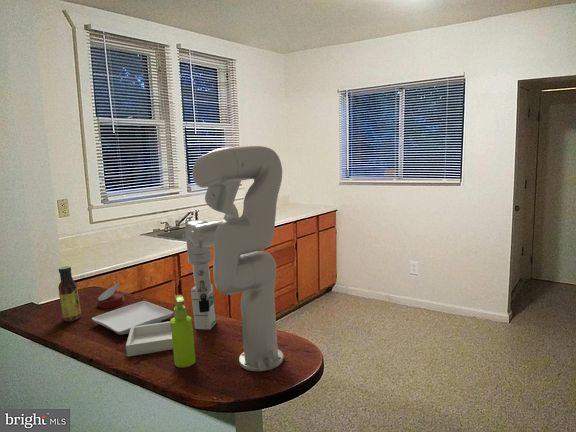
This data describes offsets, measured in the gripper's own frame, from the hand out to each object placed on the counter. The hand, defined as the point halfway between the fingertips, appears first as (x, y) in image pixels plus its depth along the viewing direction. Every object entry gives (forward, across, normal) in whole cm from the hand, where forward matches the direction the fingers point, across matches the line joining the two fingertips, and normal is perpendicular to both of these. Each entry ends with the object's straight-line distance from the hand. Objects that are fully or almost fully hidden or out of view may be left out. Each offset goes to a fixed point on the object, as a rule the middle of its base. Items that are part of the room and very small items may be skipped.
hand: (204, 307), depth 144 cm
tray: (+7, -7, +17) cm, 20 cm away
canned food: (+7, +37, +36) cm, 52 cm away
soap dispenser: (+7, -24, +7) cm, 26 cm away
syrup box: (+7, 0, 0) cm, 7 cm away
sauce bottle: (+7, +25, +48) cm, 55 cm away
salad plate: (+7, +13, +25) cm, 29 cm away
